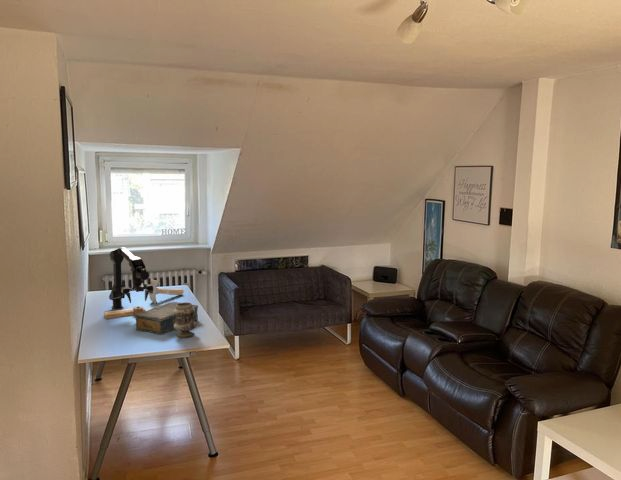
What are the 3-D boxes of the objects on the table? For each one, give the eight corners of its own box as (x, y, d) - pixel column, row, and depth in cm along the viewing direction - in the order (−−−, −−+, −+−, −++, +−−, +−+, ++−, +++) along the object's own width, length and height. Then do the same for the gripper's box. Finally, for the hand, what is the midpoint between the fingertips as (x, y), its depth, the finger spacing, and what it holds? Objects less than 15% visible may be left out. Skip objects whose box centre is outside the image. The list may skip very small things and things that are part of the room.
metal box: (199, 320, 302) (199, 305, 301) (162, 335, 273) (161, 318, 272) (173, 316, 311) (172, 301, 310) (134, 330, 282) (133, 313, 281)
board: (104, 316, 312) (104, 312, 311) (143, 310, 324) (142, 306, 324) (106, 318, 306) (105, 314, 306) (145, 313, 318) (145, 309, 318)
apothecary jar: (186, 330, 281) (185, 300, 279) (200, 334, 274) (199, 303, 272) (169, 336, 271) (168, 304, 269) (184, 340, 264) (182, 307, 262)
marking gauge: (132, 313, 318) (131, 304, 317) (140, 312, 320) (139, 303, 320) (135, 316, 310) (134, 308, 309) (143, 315, 312) (143, 306, 312)
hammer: (180, 281, 370) (150, 279, 344) (185, 282, 367) (154, 280, 341) (177, 302, 369) (147, 302, 343) (182, 303, 366) (151, 302, 340)
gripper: (124, 282, 298) (125, 306, 300) (155, 278, 308) (156, 302, 310) (120, 278, 308) (121, 303, 310) (150, 275, 318) (151, 299, 319)
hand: (138, 302), depth 312 cm, fingers open, 9 cm apart
